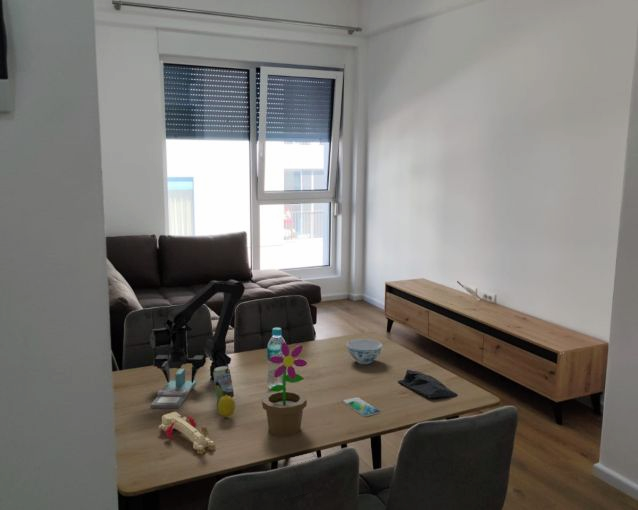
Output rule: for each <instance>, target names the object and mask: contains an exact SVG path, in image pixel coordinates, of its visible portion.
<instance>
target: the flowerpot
mask: <svg viewBox="0 0 638 510" xmlns="http://www.w3.org/2000/svg"><path fill="white" fill-rule="evenodd" d="M280 351H281V353H282V355H283V356H284V357H282V356H281V355H276V354H275V355H273V356H269V361H270V362H271V363H273V364H277V365H279V366H278V367H277V368H276V369H275V370H274V374H273V377H275V379H276V378H278V377H281V376H282V384H276V385H273V386H272V387H271V388H270V389H269V392H267V393H265V394H264V395H263V396H262V397H261V405H262V409H263V410H265V412H266V417H267V418H266V419H267V423H268V424H267V427H268V431H269V433H270V434H272V435H274V436H279V437H287V436H288V437H289V436H293V435H296V434H298V433H299V431H301V428H302V420H303V411H304V409H305V408H306V407H307V406H308V405H307V404H308V402H307V396H306V394H304V393H303V392H301V391H299V390H291V389H286V384H287V383H286V382H288V383H291V384H292V383H298V382H301V381H303V380H304V377H303V376H302V375H300V374H299V373H296V369H295V367H293V366H292V365H294V366H296V367H305V366H307V364H308V362H307V361H306V360H304V359H303V358H298V356H299V355H301V352H302V351H303V345H302V344H299V345H297V346H295V347H294V348H293V349H292V351H291V352H290V347H289V345H288V344H287V343H286V342H282V343H281V347H280ZM290 353H291V354H290ZM294 358H295V359H294ZM280 364H281V365H280Z"/></svg>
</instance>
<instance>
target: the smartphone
mask: <svg viewBox="0 0 638 510" xmlns="http://www.w3.org/2000/svg"><path fill="white" fill-rule="evenodd" d="M341 402H342V403H343V404H345V405H346V406H347V407H349V408H350V409H352V410H354V411H355V413H357V414H359V415H360V416H362V417H365V418H367V417H370V416H375V415H378V414H382V411H381V410H380V409H378V408H376V406H373V405H371V404H370V403H368V402H367V401H366V400H364V399H362V398H361V397H359V396H354V397H349V398H345V399H342V400H341Z"/></svg>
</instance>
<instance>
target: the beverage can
mask: <svg viewBox="0 0 638 510" xmlns="http://www.w3.org/2000/svg"><path fill="white" fill-rule="evenodd" d="M213 376H214V379H213V381H214V387H215V393H216V399H217V400H218V401H219V400H220V399H221V398H222V397H223V396H225V395H227V396H230V397H232V398H234V397H235V394H234V393H235V392H234V387H233V380H232V374H231V369H228V367H227V366H221V367H217V368H215V369H214V372H213Z"/></svg>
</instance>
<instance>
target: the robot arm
mask: <svg viewBox="0 0 638 510" xmlns="http://www.w3.org/2000/svg"><path fill="white" fill-rule="evenodd" d="M218 293H223V294H222V295H223V303H222V308H221V311H220V314H219V317H218V320H217V324H216V328H215V330H214V333H213V336H212V337H211V338H210V339H209V338H207V339H206V343H205V345H204V347H203V349H204V354H205V355H206V356H205V355H194V357H191V358H190V357H189V353H188V346H189V345H188V338H187V335H188V332H189V331H192V330H193V328H192V327H191V326H189V324H188V323H189V322H190V321H191V320H192V318H193V316H194V314H195V313H196V312H197V311H199V309H200V308H201V307H202V306H203V305H204V304H206V303H207V302H208V301H209V300H210V299H211V298H213V297H214V296H215V295H216V294H218ZM244 293H245V285H244V284H243V283H242V282H241V281H238V280H235V279H229V280H227V281H223V280H210V282H208V284H207V285H206V286H204V287H203V288H202V289H201V290H200V291H199V292H197V293H196V294H195V295H194V296H193V297H191V299H189V300H188V301H187V302H185V303H184V304H182V305H181V304H180V305H179V306H177V307H175V308H173V309H172V310H170V311H169V312H168V316H167V319H166V321H165V322H164V324H163V325H162V328H153V329H151V333H150V336H149V343H150V346H151V347H152V349H157V348H162V347H167V346H170V345H171V347H170V353H169V355H168V354H158V355H157V356H156V357H155V358H154V359H153V361H152V362H153V364H152V365H153V367H154V368H155V367H156V368H157V369H158V370H159V369H160V370H161V371H162V373H163V375H164V377H165V381H167V384H168V383H169V382H170V381H171V379H170V377H171V376H170V374H171V373H170V369H177V370H179V369H182V366H184V365H187V364H191V366H192V367H190V368H191V380H190V381H192V383H193V382H194V381H195V379H196V376H197V372H198V370H199V369H200V368H203V367H204V366H205V364H206V362H207V359H206V357H207V358H208V359H209V361H211V363H210V366H209V375H210V380H214V376H213V372H214V369H215V368H217V367H221V366H227V367H228V369H229V365H230V364H231V362H232V358H231V357H230V356H229V355H227V354H226V352H227V343H226V339H227V335H228V332H229V329H230V325H231V321H232V319H233V315H234V311H235V309H236V306H237V304H238V303H239V301H240V300H241V299H242V297H243V295H244ZM188 357H189V358H188ZM229 370H230V369H229Z"/></svg>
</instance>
